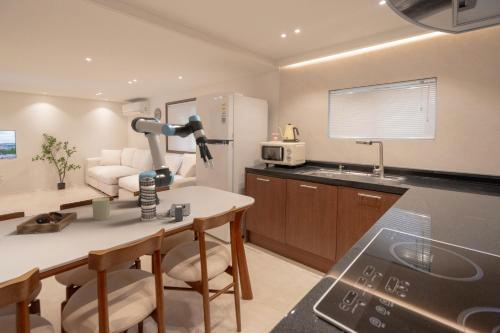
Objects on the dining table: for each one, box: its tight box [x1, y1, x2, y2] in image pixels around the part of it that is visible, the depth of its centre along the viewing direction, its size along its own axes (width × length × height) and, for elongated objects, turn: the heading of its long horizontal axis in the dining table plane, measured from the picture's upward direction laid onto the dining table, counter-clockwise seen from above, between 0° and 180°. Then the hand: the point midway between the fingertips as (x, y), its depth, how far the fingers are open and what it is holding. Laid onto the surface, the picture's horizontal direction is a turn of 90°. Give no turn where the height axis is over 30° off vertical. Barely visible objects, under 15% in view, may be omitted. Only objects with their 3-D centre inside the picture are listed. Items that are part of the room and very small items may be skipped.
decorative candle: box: [140, 177, 157, 222], centre depth 157 cm, size 9×9×25 cm
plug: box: [174, 206, 184, 222], centre depth 156 cm, size 4×4×8 cm
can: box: [91, 196, 111, 221], centre depth 158 cm, size 9×9×12 cm
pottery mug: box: [36, 211, 63, 224], centre depth 144 cm, size 12×10×8 cm
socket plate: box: [169, 203, 191, 217], centre depth 172 cm, size 12×16×4 cm
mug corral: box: [16, 211, 78, 235], centre depth 145 cm, size 19×21×4 cm
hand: (210, 168), depth 173 cm, fingers open, 13 cm apart
